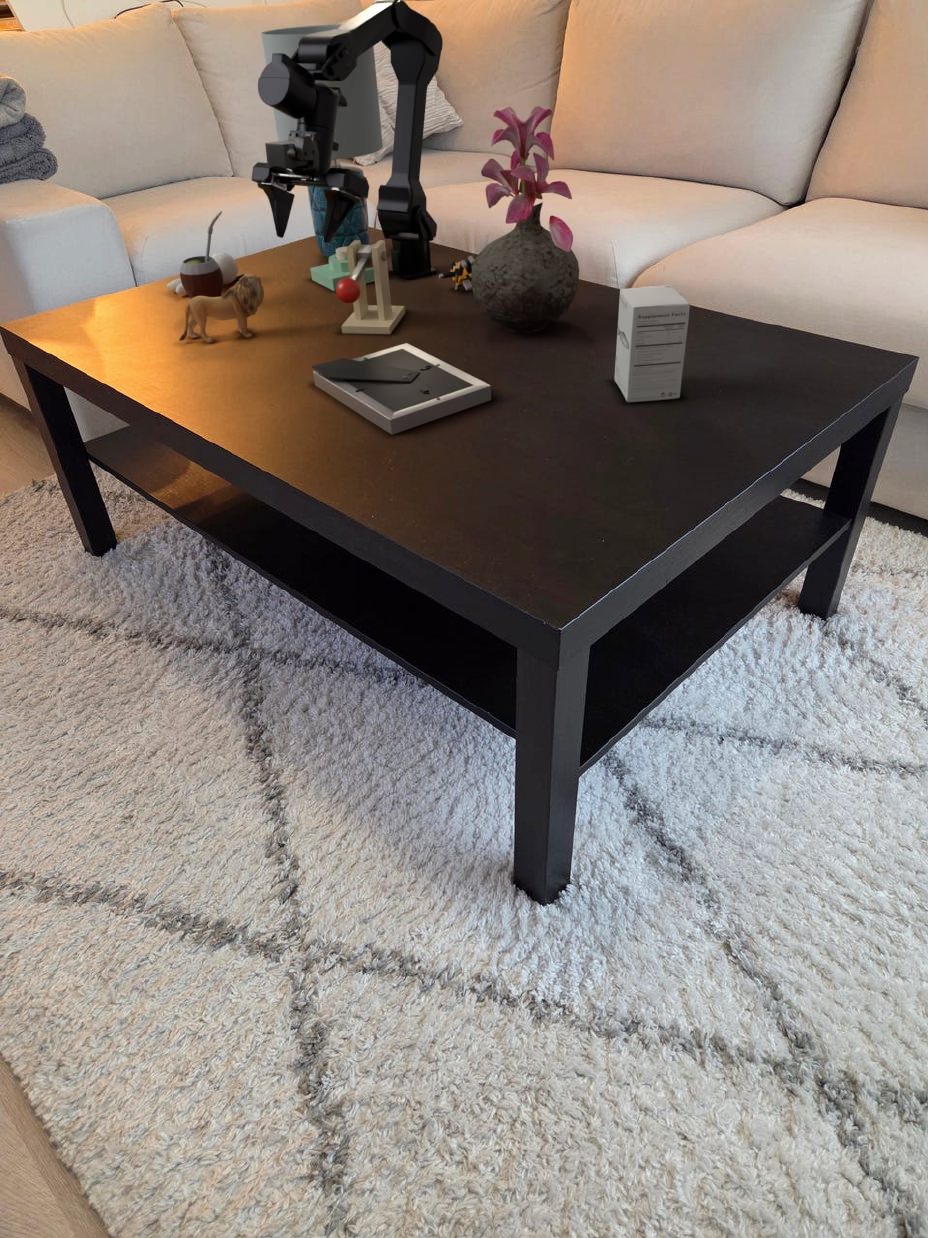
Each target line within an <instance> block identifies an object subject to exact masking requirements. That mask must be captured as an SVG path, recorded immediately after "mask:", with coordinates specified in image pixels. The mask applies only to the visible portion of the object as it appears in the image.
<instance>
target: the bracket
mask: <svg viewBox="0 0 928 1238" xmlns="http://www.w3.org/2000/svg"><path fill="white" fill-rule="evenodd" d="M373 245H374V246H373V247H372V248H371V251H372V260H373V269H374V278H375V281H374V287H375V295H376V297H375V298H376V304H373V305H371V304H370V305H369V302H368V294H367V285H366V284H367V283H366V284H365V276H364V273H363V275H362V277H361V279H360V280H359V282H358V284H359V286H360V291H361V292H360V297H359V298H358V300H357V301H356V302H354V303H352V304H353V312H352V313H351V314H350V315H349V316H348V317H347V318H346V320H345V321H344V322H343V324H341V326H340V327H341V333H342V334H357V335H358V334H359V335H361V334H362V335H365V334H366V335H391V334H392V333H393V331H394V329H395V328H396V327H397V325H398V324H399V322H400V321H401V320H402V319H403V317H404V315H405V314H406V306H405V305H392V301H391V300H392V299H391V290H390V289H391V287H390V279H389V278H390V277H389V271H388V270H389V269H388V259H387V258H388V257H387V256H388V255H387V247H386V239H383V240H382V239H381V240H377V242H376V243H374V244H373ZM360 246H361V241H360V240H354V241H353V242H352V243H351V244H350V245H349V246H348V247H347V248H346V250H347V257H348V265H349V273H350V277H351V275H352V273H353V271H354V269H355V268H356V266H357V264H358V256H357V252H358V250H359V248H360Z"/></svg>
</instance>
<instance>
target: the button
mask: <svg viewBox="0 0 928 1238" xmlns="http://www.w3.org/2000/svg"><path fill="white" fill-rule="evenodd" d="M347 247H348V246H347ZM347 247H340V248H337V249H336V257H337V260H348V257H347V250H346V248H347Z"/></svg>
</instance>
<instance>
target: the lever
mask: <svg viewBox="0 0 928 1238" xmlns="http://www.w3.org/2000/svg"><path fill="white" fill-rule="evenodd" d="M374 245H375V244H369V245H361V246H360V248H359V250H358V252H357V256H358V264H357V266H356V268H355V269H354V271H353V273H352V275H351V277H350V278H344V279H342V280H340V281H339V283H338V284H337V287H336V291H335V293H336V296H337V298H338V300H339V301H341V302H342V303H343V304H348V305H350V304H353V303H354V302H356V301H357V300H358V298H359V297H360V292H361V291H360V286H359V284H358V282H359V280H360V279H361V277H362V275H363V273H364V271H365V269H366V268H373V260H372V251H371V248H372V247H373V246H374Z"/></svg>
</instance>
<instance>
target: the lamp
mask: <svg viewBox="0 0 928 1238" xmlns="http://www.w3.org/2000/svg"><path fill="white" fill-rule="evenodd" d="M343 24H344V23H340V24H337V23H336V24H320V25H319V24H318V25H317V24H316V25H305V26H294V27H293V26H292V27H284V28H276V29H270V30H265V31H262V32H261V34H260V35H261V39H262V47H263V53H264V60H265V67H266V66H267V65H268V64H269V63H271V62H272V54H273V53H284V54H286V55H287V56H289V57H290V58H291V57H292V55H293V54H294V53H295V51H296V50H297V49H298V47H299V46H298V43H299V41H300V39H301V38H302V37H303V36H305V35H309V34H313V33H317V32H323V31H329V30H334V29H337V28H338V27H340V26H341V25H343ZM374 46H375V45H374ZM374 46H373V47H371V48H370V49H369V50H367V51H366V52H364V53H363V54H361V55H360V56H359V57H358V59H357V66H356V68H355V69H354V70H353V72H352V73H351V74H350V75H349V76H348V77H347V79H346V80H344V81H315V84H316V83H322V84H324V85H326V86H328V87H340V89H341V92H342V94H343V96H344V97H345V98H346V101H347V107H338V112H337V120H336V128H335V136H334V142H336V143H338V144H339V148H338V151H333V153H332V161H331V168H344V169H350V170H352V171H354V172H356V173H358V174H360V175H362V176H364V177H365V174H364V173H365V172H364V170H363V169H362V168H360V167H357V166H351V165H342V164H341V160H344V159H351V158H358V157H363V156H368V155H371V154H375V153H377V152H379V151H381V150H382V149H383V147H384V145H383V132H382V123H381V114H380V113H381V111H380V103H379V102H380V101H379V100H380V99H379V91H378V90H379V89H378V79H377V70H376V68H377V67H376V59H375V47H374ZM272 110H273V116H274V122H275V129H276V136H277V142H278V141H288V136H289V133H290V130H293V131H296V128H297V119H294V118H291V117H289V116H287V115H285V114H284V113H282V112H280V111H278V110H276V109H274V108H272ZM314 180H315V181H316V180H317V181H319V179H314ZM306 188H307V195H308V201H309V202H308V203H309V207H310V208H309V209H310V213H311V220H312V225H313V226H312V227H313V231H314V235H315V240H316V243H317V248H318V250H319V252H320V254H321V255H322V256H323V257H324V258H326V259H327V260H329V257H330V256H332V255H334V254H336V249H337V248H340V247H347V246H349V245H350V244H351V243H352V242H353V241H354V240H360V241H361V245H370V225H369V210H368V200H367V199H368V198H367V199H366V198H358V199H359V200H361V201H360V204H355V206H354V207H353V208H352V210H351V211H350V212H349V214H348V215H347V216H346V218H345V219H344V221H343V222H342V224H341V225H340V227H339V228H338V230H337V232H336V233H335V235H334V237H333V238H332V240H331V241H330V243H325V242H324V241H323V236H324V223H325V215H326V206H327V202H326V198H325V195H324V191H323V189H331V190H332V188H321V187H309V186H306Z"/></svg>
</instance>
